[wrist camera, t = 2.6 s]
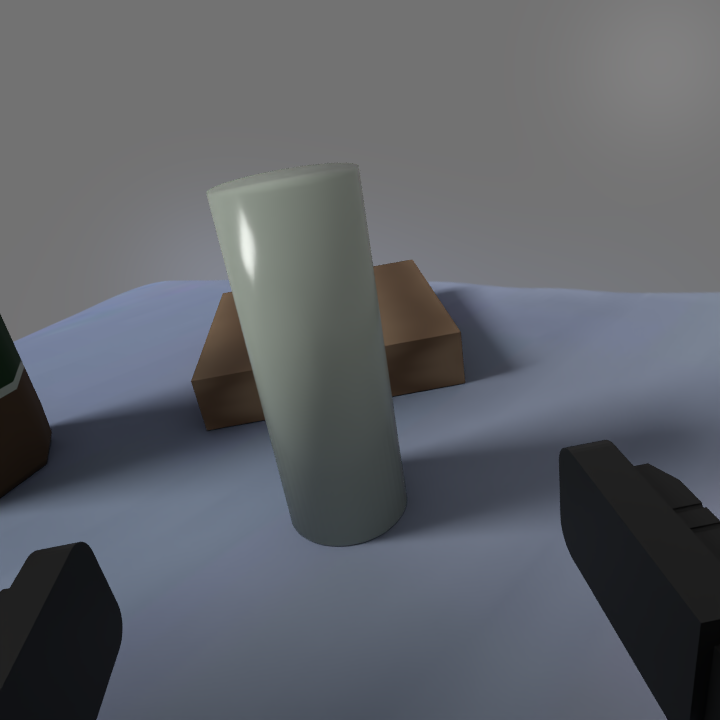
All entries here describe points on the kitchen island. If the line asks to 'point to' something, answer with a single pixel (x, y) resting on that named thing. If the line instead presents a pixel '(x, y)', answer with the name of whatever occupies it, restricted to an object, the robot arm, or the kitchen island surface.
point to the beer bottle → (19, 419)
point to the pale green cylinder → (315, 345)
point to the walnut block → (401, 338)
